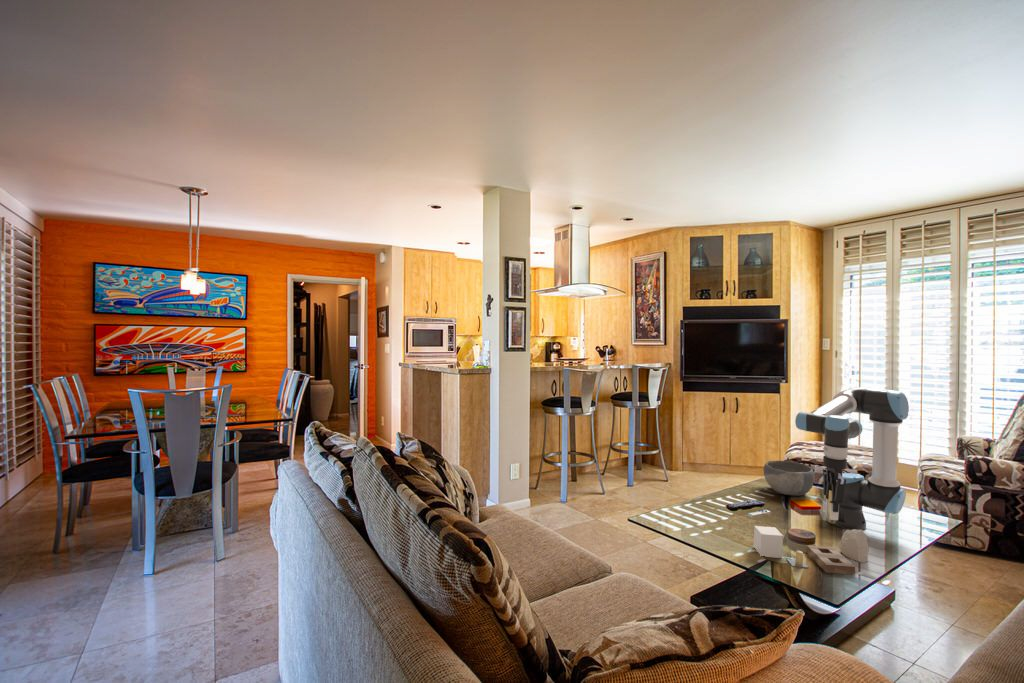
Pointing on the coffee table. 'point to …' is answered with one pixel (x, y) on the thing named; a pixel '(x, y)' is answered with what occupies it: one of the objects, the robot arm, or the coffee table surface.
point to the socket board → (830, 560)
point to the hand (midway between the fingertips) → (831, 517)
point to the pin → (829, 507)
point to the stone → (854, 545)
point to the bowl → (789, 477)
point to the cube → (768, 541)
